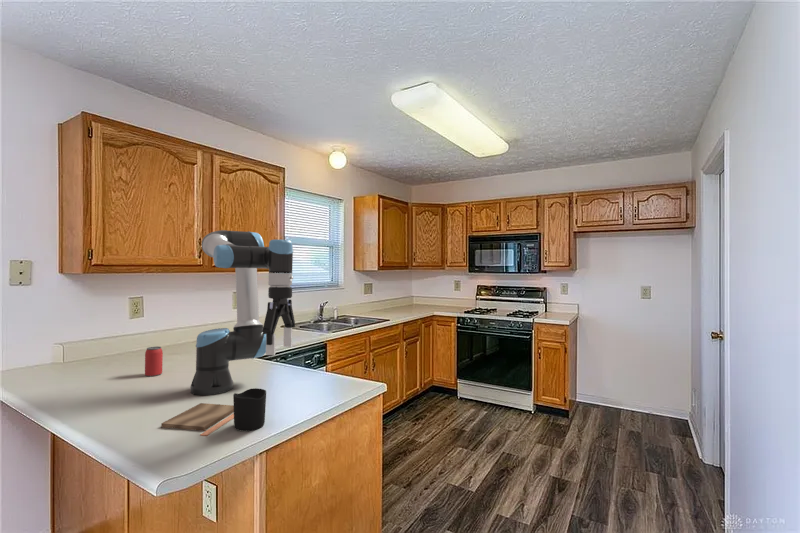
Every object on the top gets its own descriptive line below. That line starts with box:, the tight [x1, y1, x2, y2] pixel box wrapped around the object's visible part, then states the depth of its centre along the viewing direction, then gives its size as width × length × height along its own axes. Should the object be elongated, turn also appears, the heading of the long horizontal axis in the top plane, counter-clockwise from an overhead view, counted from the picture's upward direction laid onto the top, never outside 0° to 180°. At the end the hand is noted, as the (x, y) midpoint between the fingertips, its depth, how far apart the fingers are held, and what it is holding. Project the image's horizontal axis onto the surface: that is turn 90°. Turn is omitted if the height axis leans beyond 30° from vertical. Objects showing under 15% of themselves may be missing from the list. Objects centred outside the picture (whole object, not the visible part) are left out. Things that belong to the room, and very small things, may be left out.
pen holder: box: [232, 387, 267, 432], centre depth 120 cm, size 9×9×10 cm
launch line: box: [200, 412, 234, 437], centre depth 124 cm, size 2×24×1 cm, turn 171°
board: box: [161, 402, 234, 432], centre depth 125 cm, size 14×18×1 cm
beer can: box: [144, 346, 164, 377], centre depth 174 cm, size 7×7×12 cm
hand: (279, 350), depth 130 cm, fingers open, 13 cm apart
